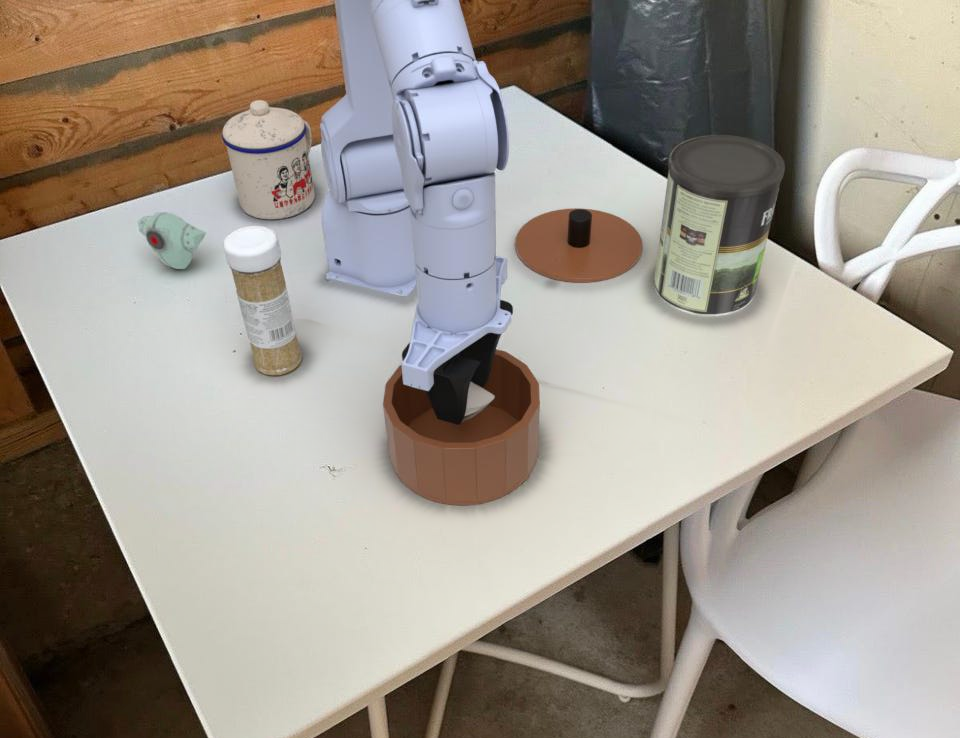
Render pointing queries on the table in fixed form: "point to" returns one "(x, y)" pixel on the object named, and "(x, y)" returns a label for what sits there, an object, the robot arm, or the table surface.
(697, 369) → the table surface
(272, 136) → the teacup with lid
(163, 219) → the robot head
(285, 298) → the spice jar
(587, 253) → the lid
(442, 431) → the tin
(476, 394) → the white teardrop
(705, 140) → the coffee can
